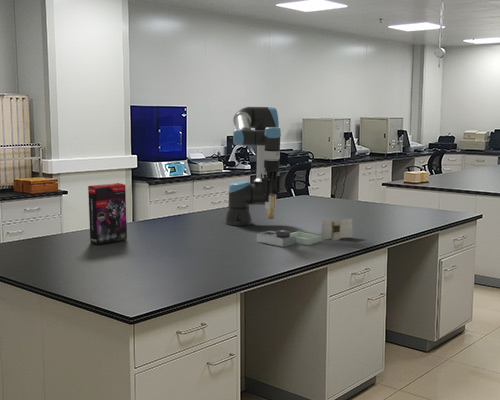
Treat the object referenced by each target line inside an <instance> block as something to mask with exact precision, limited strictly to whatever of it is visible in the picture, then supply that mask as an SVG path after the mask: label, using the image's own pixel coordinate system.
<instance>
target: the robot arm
mask: <svg viewBox="0 0 500 400" xmlns="http://www.w3.org/2000/svg"><path fill="white" fill-rule="evenodd" d="M278 113H279V112H278V110H277V108H276V107H272V106H247V107H243V108H241V109H239V110H238V111H237V112H235V114H234V116H233V120H232V121H233V125H234V126H235V129H234V130H233V131H232V133H233V134H232V136H233V137H232V139H233V144H234V145H235V146H257V147H256V150H257V151H256V178H255V179H254V180H253V183H251V181H248V180H242V181H235V182H231V183H230V184H229V186H228V209H227V213H226V216H225V218H224V223H225V224H226V225H229V226H243V227H244V226H251V225H252V224H253V218H252V216H251V212H250V206H264V209H266V210H267V209H270V204H271V195H270V193H273V194H274V209H276V208H277V207H276V206H277V197H278V196H277V195H279V193H281V192H280V191H281V179H282V174H283V173H282V172H279V169H280V167H281V166H280V164H281V162H280V159H281V158H280V156H281V153H280V152H281V136H282V134H281V132H282V131H281V128H280V127H279V124H280V123H279V114H278Z"/></svg>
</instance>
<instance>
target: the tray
mask: <svg viewBox="0 0 500 400" xmlns="http://www.w3.org/2000/svg"><path fill="white" fill-rule="evenodd" d="M290 235H295V236H296V241H295V244H297V245H301V246H302V245H303V246H311V245H314V244H318V243H321V242H322V239H321V234H316V233H315V234H314V233H308V232H303V231H295V232H290Z"/></svg>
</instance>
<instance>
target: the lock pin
mask: <svg viewBox="0 0 500 400" xmlns="http://www.w3.org/2000/svg"><path fill="white" fill-rule="evenodd" d="M270 195H271V204H270V209H267V208H266V219H267V220H274V218H275V217H274V216H275V208H274V194H273V193H270Z"/></svg>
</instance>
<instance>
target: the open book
mask: <svg viewBox="0 0 500 400" xmlns="http://www.w3.org/2000/svg"><path fill="white" fill-rule="evenodd" d="M353 233H354V232H353V218H343V219H341V218H340V220H339V221H338V220H337V221H333V219H326V220H322V224H321V233H320V236H321V240H332V241H335V240H337V241H338V240H340V239H346V238H347V239H348V238H354V237H353V236H354V234H353Z"/></svg>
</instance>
